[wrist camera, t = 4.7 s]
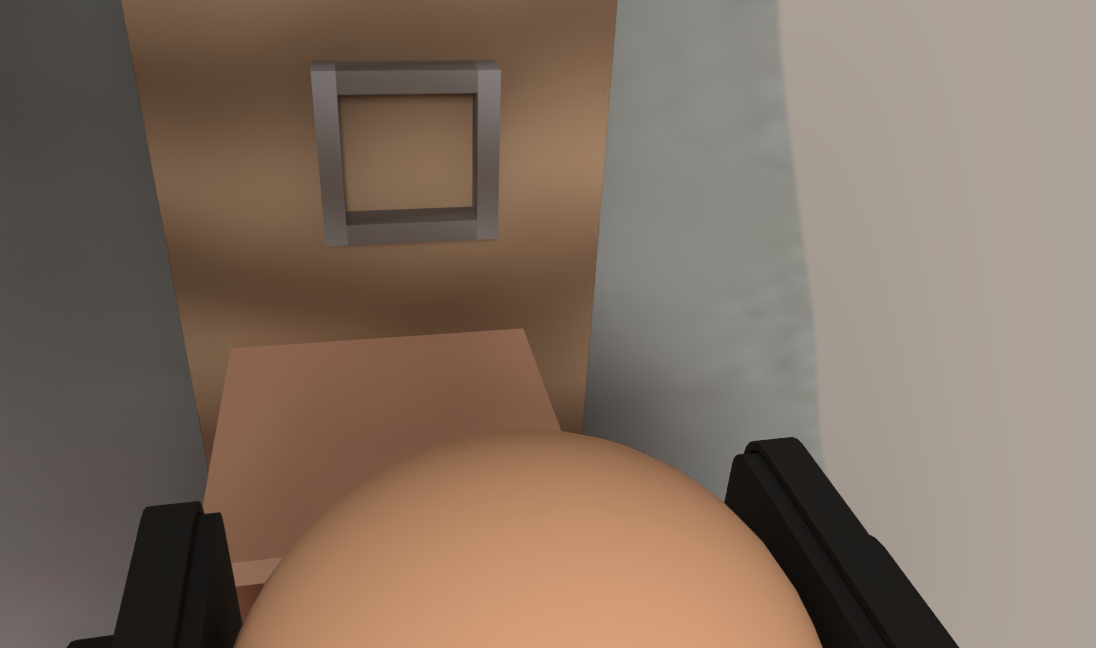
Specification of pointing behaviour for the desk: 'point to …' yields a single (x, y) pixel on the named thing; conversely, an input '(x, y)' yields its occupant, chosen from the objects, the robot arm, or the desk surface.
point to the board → (377, 173)
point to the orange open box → (350, 426)
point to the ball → (528, 557)
